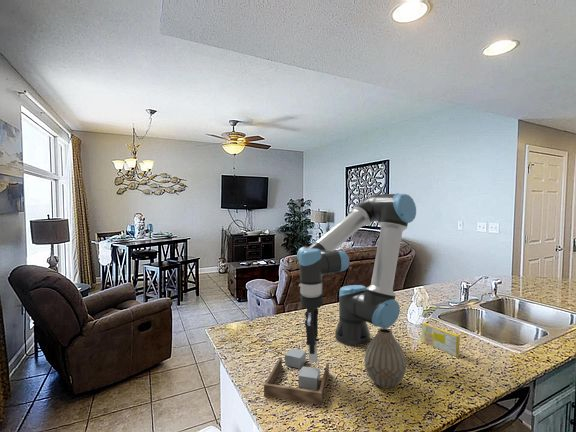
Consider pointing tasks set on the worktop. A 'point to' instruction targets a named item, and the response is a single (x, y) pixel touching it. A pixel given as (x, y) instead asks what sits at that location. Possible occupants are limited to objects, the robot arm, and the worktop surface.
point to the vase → (385, 359)
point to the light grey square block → (309, 378)
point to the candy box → (440, 339)
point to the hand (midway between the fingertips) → (313, 360)
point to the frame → (292, 392)
